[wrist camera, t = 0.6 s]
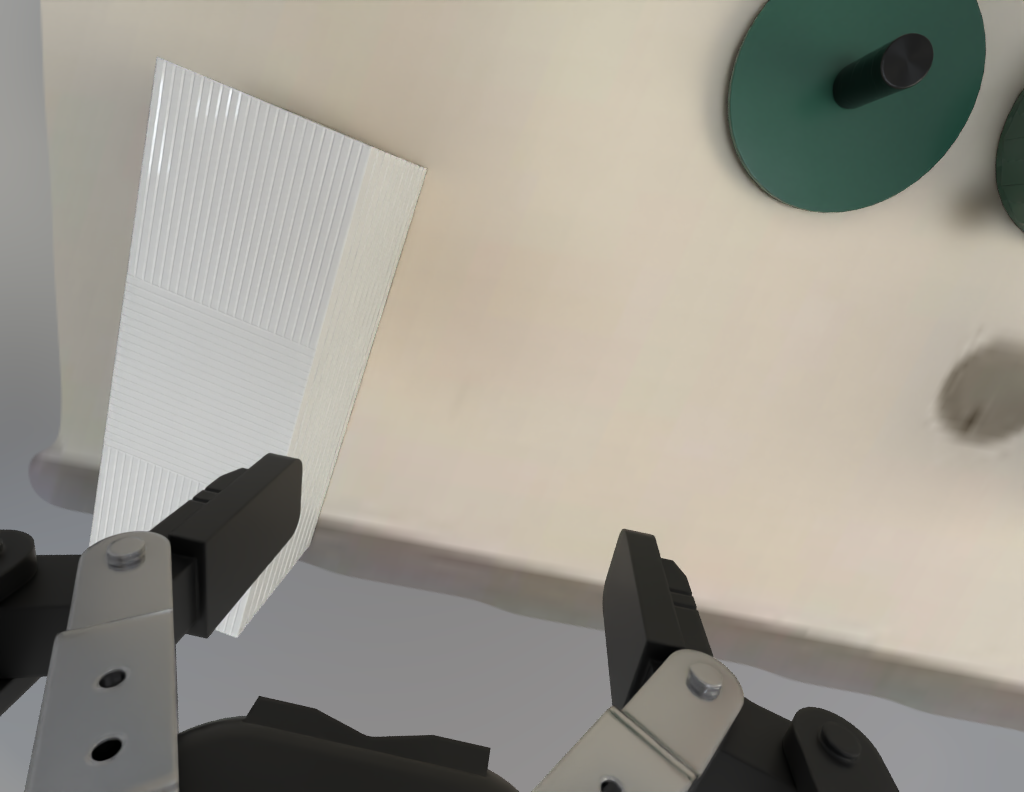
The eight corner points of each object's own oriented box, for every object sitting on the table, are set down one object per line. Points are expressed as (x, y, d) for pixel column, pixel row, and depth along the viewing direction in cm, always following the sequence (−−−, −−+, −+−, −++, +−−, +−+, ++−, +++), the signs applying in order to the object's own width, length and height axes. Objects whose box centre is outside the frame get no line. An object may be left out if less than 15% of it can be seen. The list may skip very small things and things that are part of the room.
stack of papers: (309, 544, 45) (236, 638, 35) (192, 499, 45) (83, 580, 35) (427, 169, 35) (371, 146, 25) (276, 105, 34) (156, 55, 24)
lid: (682, 62, 32) (709, 27, 26) (912, -113, 28) (1002, -199, 22) (788, 256, 35) (833, 263, 29) (1009, 118, 31) (1110, 95, 25)
